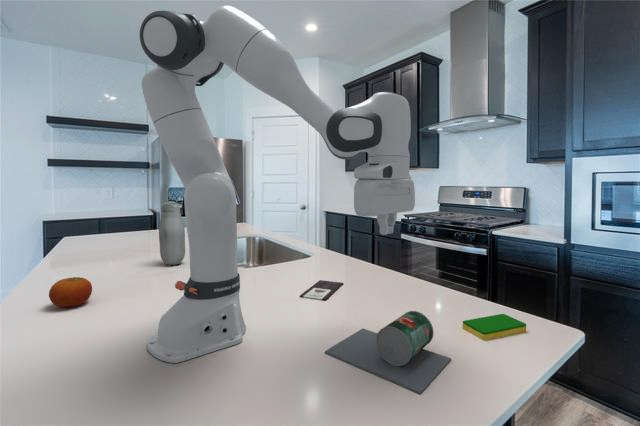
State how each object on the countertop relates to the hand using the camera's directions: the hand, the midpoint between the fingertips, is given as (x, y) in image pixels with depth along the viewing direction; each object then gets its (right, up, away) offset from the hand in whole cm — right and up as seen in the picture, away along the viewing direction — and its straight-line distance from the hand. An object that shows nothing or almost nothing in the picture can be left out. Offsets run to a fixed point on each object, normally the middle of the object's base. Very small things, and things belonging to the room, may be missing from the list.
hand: (386, 233), depth 75 cm
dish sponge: (+29, -25, +10) cm, 40 cm away
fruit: (-89, -23, +27) cm, 96 cm away
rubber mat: (0, -26, -2) cm, 26 cm away
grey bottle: (-80, -18, +75) cm, 111 cm away
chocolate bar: (-14, -22, +41) cm, 48 cm away
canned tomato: (+7, -21, +2) cm, 23 cm away
